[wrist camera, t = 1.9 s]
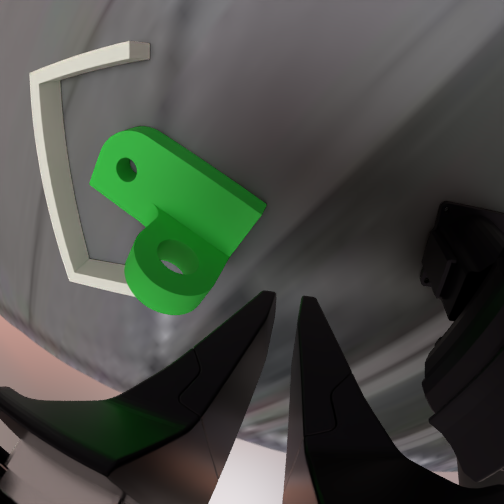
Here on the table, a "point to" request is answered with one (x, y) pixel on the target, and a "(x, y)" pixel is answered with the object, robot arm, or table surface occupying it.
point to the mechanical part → (173, 216)
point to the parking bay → (57, 165)
